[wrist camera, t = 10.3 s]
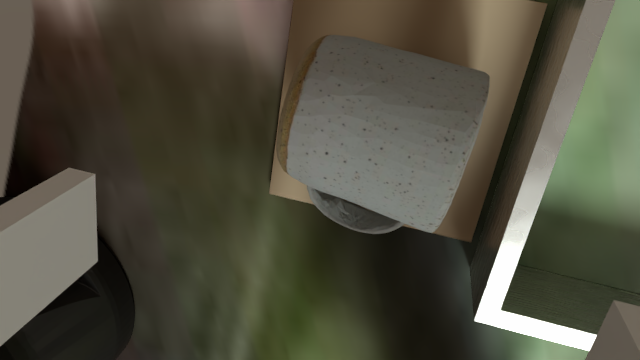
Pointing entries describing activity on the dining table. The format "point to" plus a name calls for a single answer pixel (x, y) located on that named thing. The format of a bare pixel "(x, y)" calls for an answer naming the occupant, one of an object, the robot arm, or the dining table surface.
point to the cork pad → (440, 43)
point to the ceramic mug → (379, 132)
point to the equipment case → (526, 193)
